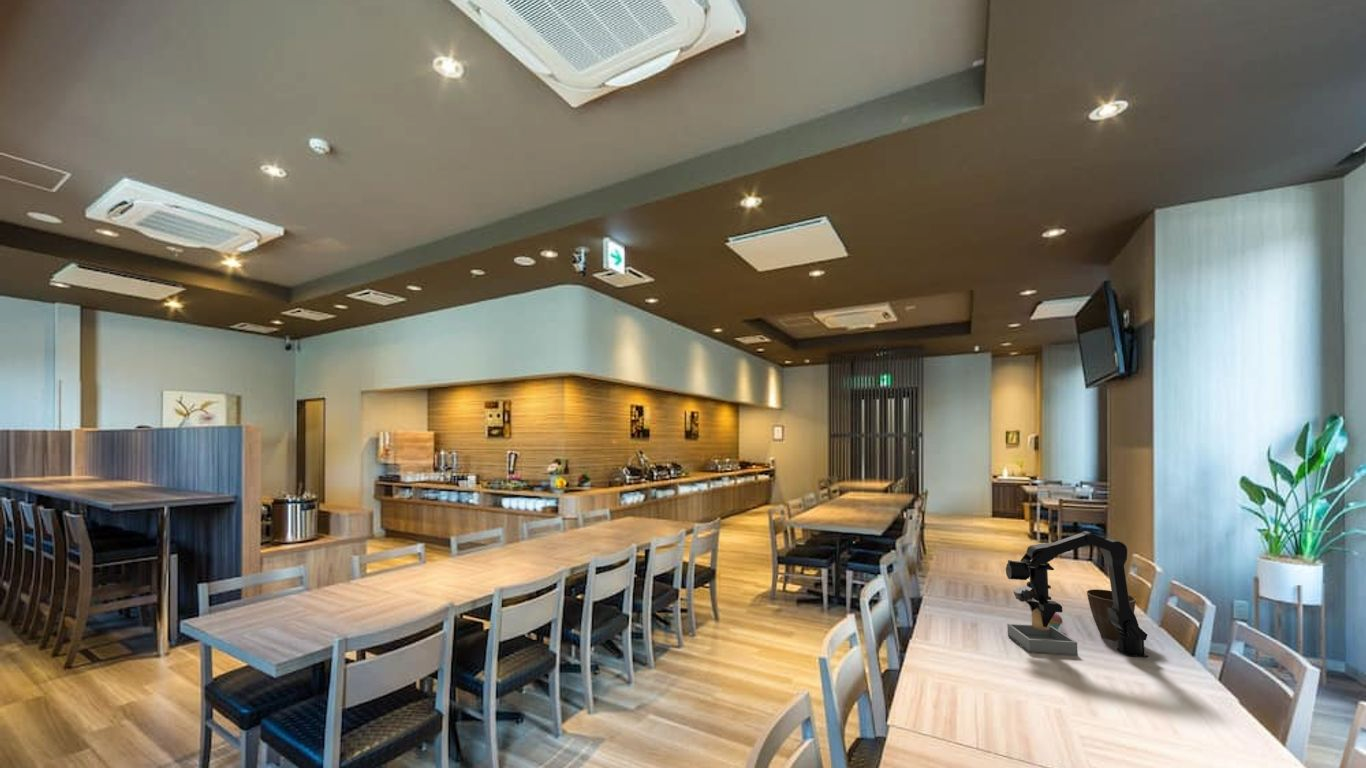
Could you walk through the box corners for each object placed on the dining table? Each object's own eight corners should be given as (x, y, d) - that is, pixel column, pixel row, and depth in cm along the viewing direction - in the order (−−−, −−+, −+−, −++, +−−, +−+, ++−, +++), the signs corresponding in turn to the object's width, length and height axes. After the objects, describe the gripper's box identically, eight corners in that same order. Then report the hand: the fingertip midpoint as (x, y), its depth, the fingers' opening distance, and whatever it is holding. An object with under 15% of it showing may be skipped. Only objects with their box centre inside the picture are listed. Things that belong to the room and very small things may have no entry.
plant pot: (1139, 648, 197) (1137, 603, 198) (1088, 638, 206) (1086, 595, 207) (1136, 636, 209) (1134, 594, 210) (1088, 627, 218) (1086, 587, 219)
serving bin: (1052, 638, 206) (1051, 626, 207) (1077, 655, 190) (1077, 642, 191) (1007, 635, 208) (1007, 623, 208) (1029, 652, 192) (1029, 639, 193)
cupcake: (1068, 634, 210) (1066, 602, 211) (1046, 633, 211) (1044, 602, 211) (1053, 626, 219) (1052, 596, 220) (1032, 625, 219) (1031, 595, 220)
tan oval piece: (1044, 625, 202) (1043, 606, 203) (1052, 630, 197) (1051, 611, 197) (1029, 624, 203) (1028, 606, 203) (1036, 629, 197) (1036, 610, 198)
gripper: (1004, 573, 211) (1005, 614, 210) (1028, 587, 193) (1030, 632, 191) (1034, 574, 210) (1036, 615, 209) (1062, 588, 191) (1064, 633, 190)
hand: (1040, 624), depth 200 cm, fingers closed on tan oval piece, 5 cm apart
